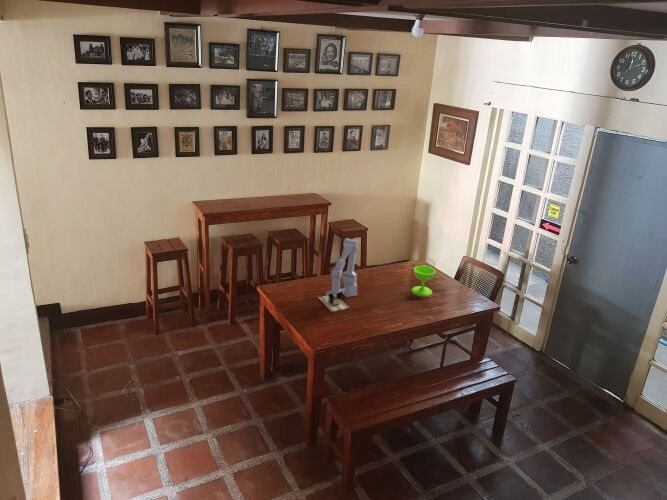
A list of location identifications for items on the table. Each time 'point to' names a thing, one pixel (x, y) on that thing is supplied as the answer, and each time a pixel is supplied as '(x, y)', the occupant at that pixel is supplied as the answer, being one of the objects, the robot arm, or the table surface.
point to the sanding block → (334, 300)
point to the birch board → (332, 308)
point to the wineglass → (423, 280)
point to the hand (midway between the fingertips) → (334, 302)
